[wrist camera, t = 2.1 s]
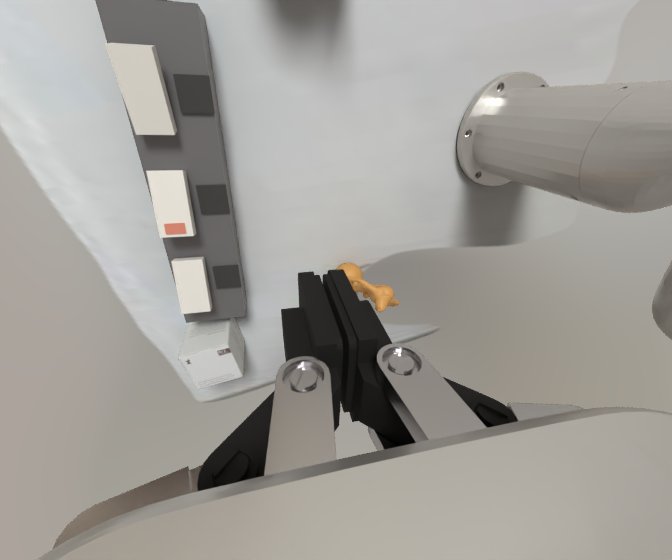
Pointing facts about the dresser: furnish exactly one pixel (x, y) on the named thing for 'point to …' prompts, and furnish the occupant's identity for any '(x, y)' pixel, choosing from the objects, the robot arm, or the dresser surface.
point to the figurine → (369, 287)
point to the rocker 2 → (171, 203)
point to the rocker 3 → (192, 284)
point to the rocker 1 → (142, 88)
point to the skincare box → (213, 352)
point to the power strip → (187, 139)
